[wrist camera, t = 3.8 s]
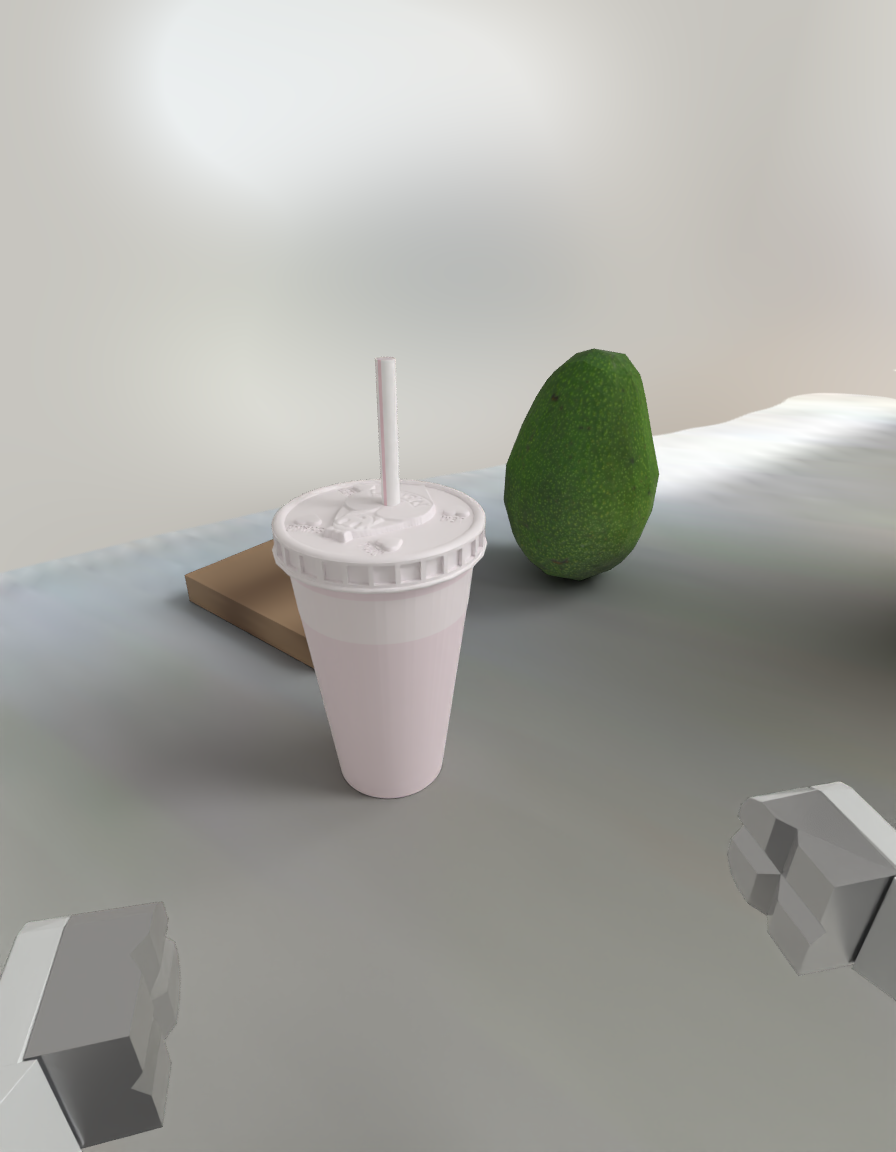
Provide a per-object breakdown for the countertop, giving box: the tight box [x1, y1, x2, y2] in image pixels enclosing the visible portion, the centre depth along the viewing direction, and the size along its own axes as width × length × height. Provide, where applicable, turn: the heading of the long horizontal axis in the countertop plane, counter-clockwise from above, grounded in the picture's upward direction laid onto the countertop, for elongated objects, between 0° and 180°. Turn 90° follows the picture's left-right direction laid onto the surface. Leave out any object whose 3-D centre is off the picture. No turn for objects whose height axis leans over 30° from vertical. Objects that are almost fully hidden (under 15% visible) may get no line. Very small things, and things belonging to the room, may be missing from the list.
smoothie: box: [272, 357, 487, 798], centre depth 21 cm, size 6×6×14 cm
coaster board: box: [185, 539, 314, 668], centre depth 35 cm, size 10×10×2 cm
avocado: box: [504, 349, 659, 581], centre depth 35 cm, size 8×8×12 cm
